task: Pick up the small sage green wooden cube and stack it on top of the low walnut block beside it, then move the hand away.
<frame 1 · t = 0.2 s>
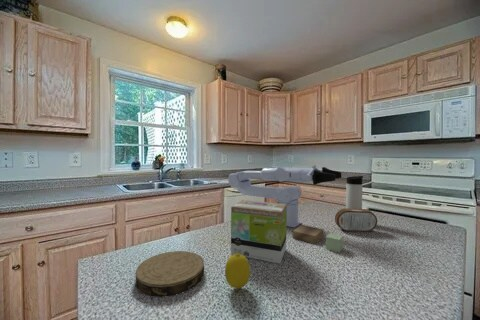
hand: (338, 176, 82), 21 cm above the countertop, tool horizontal, fingers open, 7 cm apart
wooden coaster disc: (171, 278, 55), on the countertop
tin: (355, 231, 86), on the countertop
lemon: (237, 289, 50), on the countertop
tea box: (259, 253, 67), on the countertop
travel mug: (354, 222, 98), on the countertop
sage cube: (334, 248, 70), on the countertop
walnut block: (308, 238, 80), on the countertop
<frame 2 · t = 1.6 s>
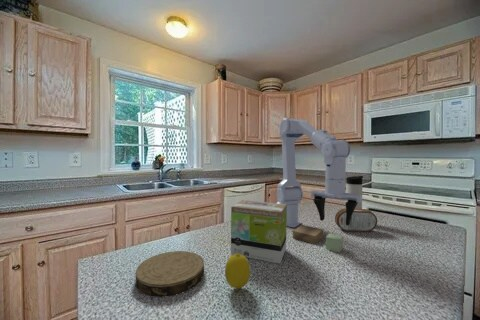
hand: (334, 222, 70), 8 cm above the countertop, tool pointing down, fingers open, 7 cm apart
nothing on the countertop moved.
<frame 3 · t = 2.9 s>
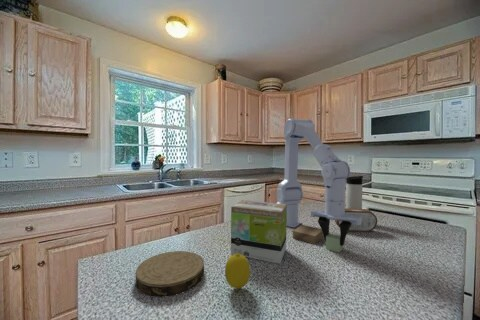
hand: (334, 242, 70), 2 cm above the countertop, tool pointing down, fingers closed on sage cube, 4 cm apart
sage cube: (334, 248, 70), on the countertop, touching gripper
everything else where it was.
when the fingers open (6 cm above the countertop, at t = 6.2 s): sage cube drops 2 cm, point 3 cm above the countertop.
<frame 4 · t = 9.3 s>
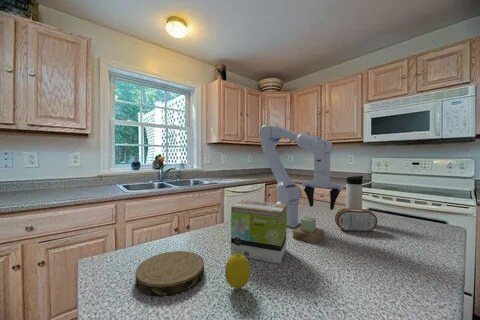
hand: (321, 207, 84), 9 cm above the countertop, tool pointing down, fingers open, 7 cm apart
sage cube: (308, 230, 80), point 3 cm above the countertop
everything else where it was.
at the end: sage cube 0.2 cm off-centre on the walnut block, point 3.0 cm above the walnut block's base; sage cube tilted 0°; the gripper is holding nothing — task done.
